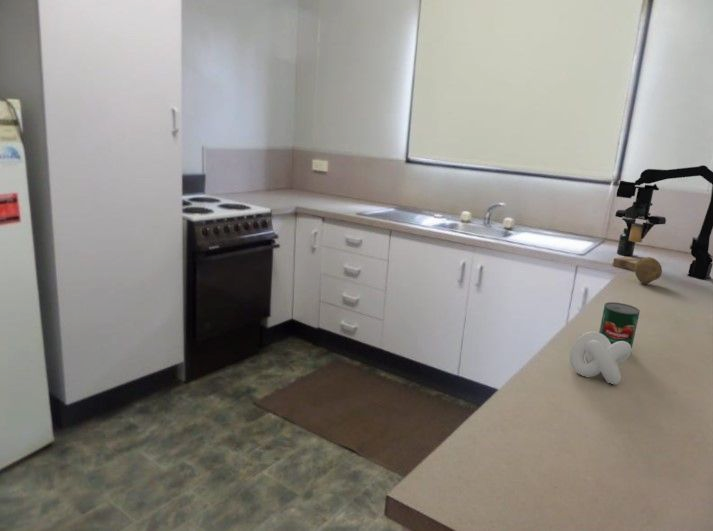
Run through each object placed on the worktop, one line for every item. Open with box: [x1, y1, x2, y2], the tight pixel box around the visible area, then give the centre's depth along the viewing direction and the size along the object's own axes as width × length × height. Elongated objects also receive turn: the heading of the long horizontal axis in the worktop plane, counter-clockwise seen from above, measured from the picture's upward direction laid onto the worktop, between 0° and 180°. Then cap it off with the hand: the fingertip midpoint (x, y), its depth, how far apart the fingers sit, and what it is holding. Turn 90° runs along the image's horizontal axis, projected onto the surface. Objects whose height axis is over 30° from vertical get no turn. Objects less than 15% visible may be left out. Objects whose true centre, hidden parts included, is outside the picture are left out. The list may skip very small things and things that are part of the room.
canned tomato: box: [598, 301, 641, 350], centre depth 135 cm, size 8×8×11 cm
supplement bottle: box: [616, 227, 637, 257], centre depth 252 cm, size 7×7×12 cm
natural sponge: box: [634, 256, 663, 285], centre depth 202 cm, size 9×9×10 cm
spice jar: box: [629, 222, 643, 243], centre depth 229 cm, size 5×5×7 cm
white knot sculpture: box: [569, 330, 633, 385], centre depth 118 cm, size 11×12×9 cm
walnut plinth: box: [612, 256, 639, 272], centre depth 227 cm, size 10×10×3 cm
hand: (635, 237), depth 229 cm, fingers closed on spice jar, 5 cm apart
